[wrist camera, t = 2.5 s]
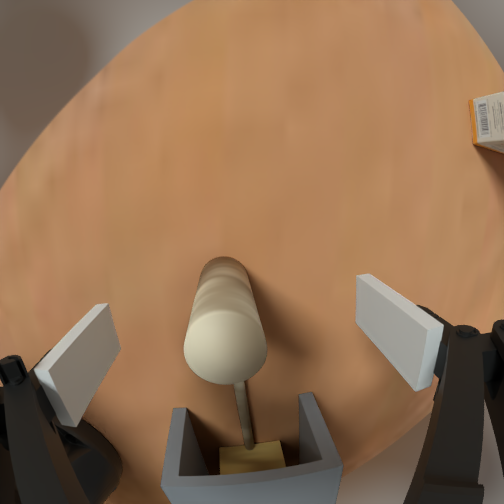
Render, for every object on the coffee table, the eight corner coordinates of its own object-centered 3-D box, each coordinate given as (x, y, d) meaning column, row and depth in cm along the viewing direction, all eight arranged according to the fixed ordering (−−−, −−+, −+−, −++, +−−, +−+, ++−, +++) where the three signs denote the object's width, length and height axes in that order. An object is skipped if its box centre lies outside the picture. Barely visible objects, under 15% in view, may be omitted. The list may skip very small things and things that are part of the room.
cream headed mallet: (228, 477, 26) (233, 549, 17) (179, 261, 21) (145, 321, 11) (281, 471, 27) (298, 541, 17) (263, 251, 21) (296, 304, 12)
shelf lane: (207, 495, 27) (208, 553, 18) (173, 408, 24) (160, 486, 15) (308, 482, 28) (326, 538, 19) (311, 391, 24) (343, 465, 16)
